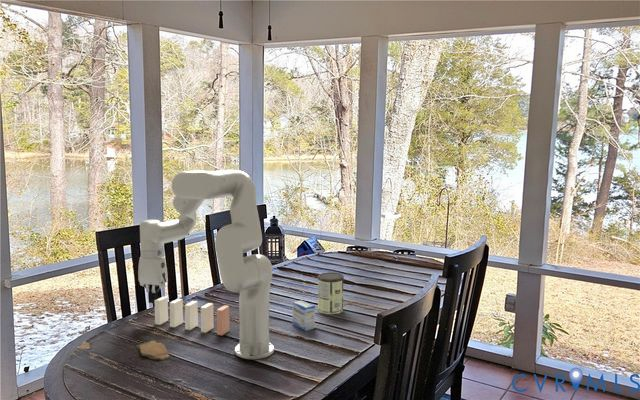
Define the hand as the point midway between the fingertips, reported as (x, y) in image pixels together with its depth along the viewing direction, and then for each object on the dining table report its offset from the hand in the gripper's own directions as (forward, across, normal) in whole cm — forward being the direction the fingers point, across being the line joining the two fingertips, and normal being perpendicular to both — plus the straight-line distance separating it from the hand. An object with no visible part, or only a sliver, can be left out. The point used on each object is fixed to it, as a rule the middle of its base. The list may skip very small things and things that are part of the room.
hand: (153, 302), depth 189 cm
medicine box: (+8, -54, -16) cm, 56 cm away
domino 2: (+7, -17, 0) cm, 18 cm away
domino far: (+7, -4, 0) cm, 8 cm away
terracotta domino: (+7, -30, 0) cm, 30 cm away
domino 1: (+7, -10, 0) cm, 12 cm away
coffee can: (+8, -57, -36) cm, 68 cm away
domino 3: (+7, -23, 0) cm, 24 cm away
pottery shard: (+8, -17, +22) cm, 29 cm away
